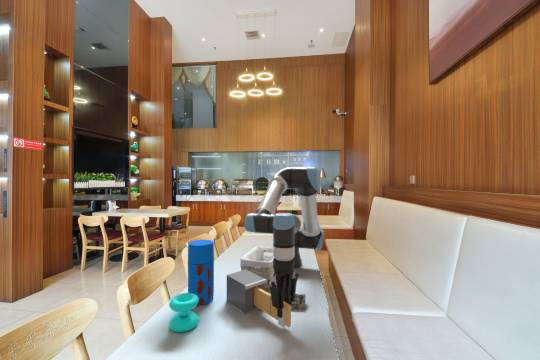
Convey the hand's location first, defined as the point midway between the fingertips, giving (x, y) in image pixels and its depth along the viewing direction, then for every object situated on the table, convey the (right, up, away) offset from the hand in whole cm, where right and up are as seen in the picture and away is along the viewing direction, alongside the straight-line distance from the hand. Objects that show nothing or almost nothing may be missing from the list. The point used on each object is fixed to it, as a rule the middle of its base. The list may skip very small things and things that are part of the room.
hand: (283, 324), depth 89 cm
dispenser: (-15, -1, +18) cm, 24 cm away
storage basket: (-9, -2, +41) cm, 42 cm away
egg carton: (+5, -2, +17) cm, 18 cm away
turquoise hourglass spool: (-36, -2, +2) cm, 36 cm away
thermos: (-35, -1, +21) cm, 41 cm away
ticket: (-5, +1, +6) cm, 8 cm away
